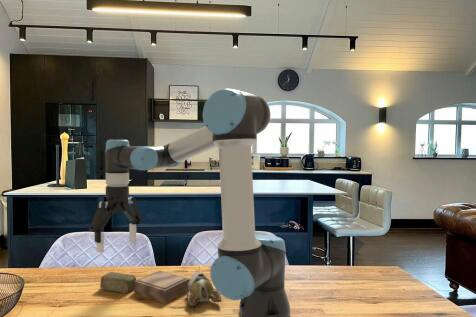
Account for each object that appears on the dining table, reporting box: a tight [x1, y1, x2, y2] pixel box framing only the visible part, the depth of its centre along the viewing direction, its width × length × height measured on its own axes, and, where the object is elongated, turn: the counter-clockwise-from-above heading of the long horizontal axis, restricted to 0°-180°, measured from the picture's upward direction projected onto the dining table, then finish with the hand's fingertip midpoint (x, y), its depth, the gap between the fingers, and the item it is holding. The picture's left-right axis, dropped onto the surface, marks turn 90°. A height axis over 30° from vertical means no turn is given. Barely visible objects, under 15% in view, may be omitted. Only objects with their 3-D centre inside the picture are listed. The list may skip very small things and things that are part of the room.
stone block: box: [99, 271, 137, 294], centre depth 123 cm, size 6×12×5 cm, turn 74°
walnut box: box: [133, 270, 190, 304], centre depth 121 cm, size 14×12×4 cm
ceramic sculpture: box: [186, 269, 222, 307], centre depth 115 cm, size 11×9×15 cm
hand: (117, 246), depth 122 cm, fingers open, 13 cm apart
